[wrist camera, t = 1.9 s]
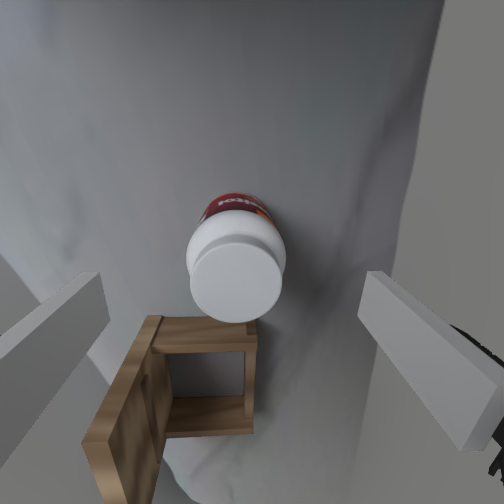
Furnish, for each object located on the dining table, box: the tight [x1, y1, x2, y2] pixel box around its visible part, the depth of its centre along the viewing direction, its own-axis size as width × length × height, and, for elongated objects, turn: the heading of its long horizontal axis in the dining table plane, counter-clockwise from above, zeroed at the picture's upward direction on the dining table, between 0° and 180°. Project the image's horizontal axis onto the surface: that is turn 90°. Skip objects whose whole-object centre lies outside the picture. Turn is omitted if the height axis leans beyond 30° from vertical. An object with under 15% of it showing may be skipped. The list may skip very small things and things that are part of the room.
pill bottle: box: [186, 192, 286, 323], centre depth 17 cm, size 6×6×11 cm
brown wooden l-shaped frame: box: [81, 315, 258, 504], centre depth 23 cm, size 14×11×12 cm
